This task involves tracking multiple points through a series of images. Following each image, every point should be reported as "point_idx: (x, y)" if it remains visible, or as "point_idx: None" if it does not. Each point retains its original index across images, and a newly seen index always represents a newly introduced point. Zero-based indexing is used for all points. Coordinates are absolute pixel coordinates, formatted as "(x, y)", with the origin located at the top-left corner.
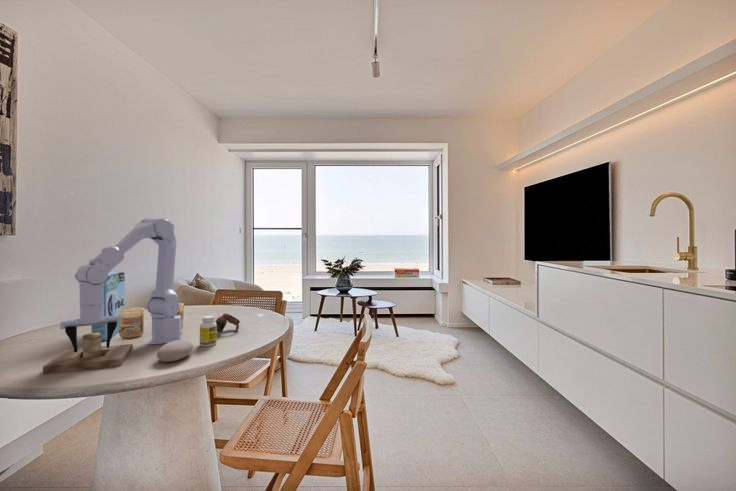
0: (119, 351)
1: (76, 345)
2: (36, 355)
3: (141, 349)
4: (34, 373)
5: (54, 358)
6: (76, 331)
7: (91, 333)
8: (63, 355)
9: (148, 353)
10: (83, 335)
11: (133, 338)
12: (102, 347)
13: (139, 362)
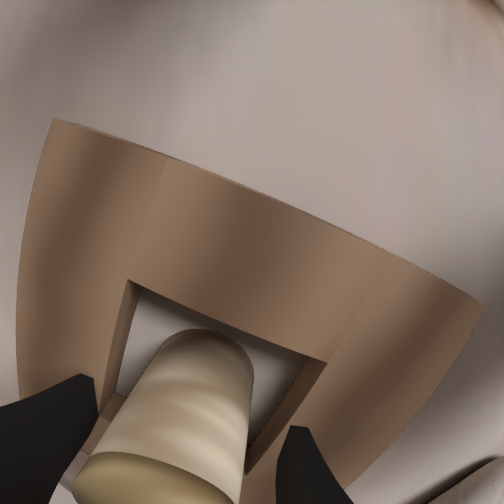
0: (348, 445)
1: (75, 454)
2: (12, 38)
3: (488, 314)
4: (12, 359)
5: (18, 320)
6: (5, 493)
7: (135, 501)
8: (42, 291)
9: (461, 411)
10: (78, 499)
11: (493, 5)
12: (292, 256)
13: (366, 496)
